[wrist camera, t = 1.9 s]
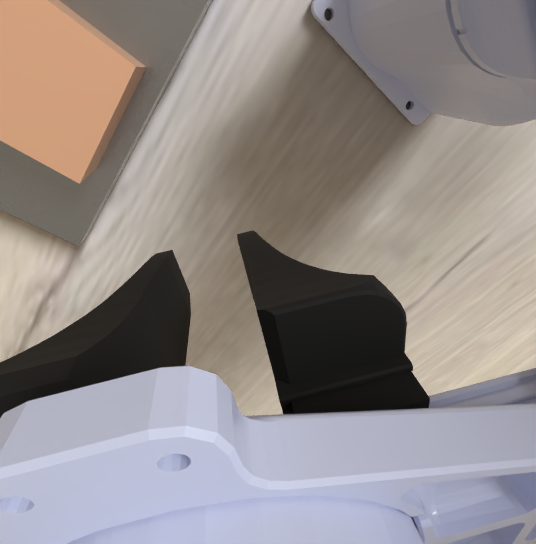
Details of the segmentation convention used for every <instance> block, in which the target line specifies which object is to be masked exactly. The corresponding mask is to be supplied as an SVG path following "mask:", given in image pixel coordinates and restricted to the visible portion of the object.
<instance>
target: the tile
mask: <svg viewBox="0 0 536 544" xmlns="http://www.w3.org/2000/svg"><path fill="white" fill-rule="evenodd" d="M145 69H146V66H144V65H143V64H142V63H140V62H139V61H138V60H137V59H135V58H134V57H133V56H131V55H130V54H129V53H127V52H126V51H125V50H123V49H122V48H121V47H120V46H118V45H117V44H116V43H114V42H113V41H112V40H110V39H109V38H108V37H106V36H105V35H104V34H103V33H101V32H100V31H99V30H97V29H96V28H95V27H93V26H92V25H91V24H89V23H88V22H87V21H86V20H84V19H83V18H82V17H80V16H79V15H78V14H76V13H75V12H74V11H72V10H71V9H70V8H69V7H67V6H66V5H65V4H63V3H62V2H61V1H59V0H0V141H2V142H4V143H6V144H8V145H10V146H11V147H13V148H15V149H17V150H19V151H21V152H22V153H24V154H26V155H28V156H30V157H31V158H33V159H35V160H37V161H39V162H41V163H42V164H44V165H46V166H48V167H50V168H52V169H53V170H55V171H57V172H59V173H61V174H63V175H64V176H66V177H68V178H70V179H72V180H73V181H75V182H77V183H79V184H80V183H81V182H82V181H84V180H85V179H86V178H87V177H88V176H89V175H91V174H92V173H93V172H94V171H95V170H96V168H97V166H98V164H99V162H100V160H101V158H102V156H103V154H104V152H105V150H106V148H107V146H108V144H109V142H110V140H111V138H112V136H113V134H114V132H115V130H116V128H117V126H118V124H119V122H120V120H121V118H122V116H123V114H124V112H125V109H126V107H127V105H128V103H129V101H130V99H131V97H132V95H133V93H134V91H135V89H136V87H137V85H138V83H139V81H140V79H141V77H142V75H143V73H144V71H145Z"/></svg>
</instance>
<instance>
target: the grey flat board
mask: <svg viewBox="0 0 536 544" xmlns="http://www.w3.org/2000/svg"><path fill="white" fill-rule="evenodd" d="M59 1H61V2H62V3H63V4H65V5H66V6H67V7H69V8H70V9H71V10H72V11H74V12H75V13H76V14H78V15H79V16H80V17H82V18H83V19H84V20H86V21H87V22H88V23H89V24H91V25H92V26H93V27H95V28H96V29H97V30H99V31H100V32H101V33H103V34H104V35H105V36H106V37H108V38H109V39H110V40H112V41H113V42H114V43H116V44H117V45H118V46H120V47H121V48H122V49H123V50H125V51H126V52H127V53H129V54H130V55H131V56H133V57H134V58H135V59H137V60H138V61H139V62H140V63H142V64H143V65H144V66H146V69H145V71H144V73H143V75H142V77H141V79H140V81H139V83H138V85H137V87H136V89H135V91H134V93H133V95H132V97H131V99H130V101H129V103H128V105H127V107H126V109H125V112H124V114H123V116H122V118H121V120H120V122H119V124H118V126H117V128H116V130H115V132H114V134H113V136H112V138H111V140H110V142H109V144H108V146H107V148H106V150H105V152H104V154H103V156H102V158H101V160H100V162H99V164H98V166H97V168H96V170H95V171H94V172H93V173H92V174H91V175H89V176H88V177H87V178H86V179H85V180H84V181H82V182H81V183H80V184H79V183H77V182H75V181H73V180H72V179H70V178H68V177H66V176H64V175H63V174H61V173H59V172H57V171H55V170H53V169H52V168H50V167H48V166H46V165H44V164H42V163H41V162H39V161H37V160H35V159H33V158H31V157H30V156H28V155H26V154H24V153H22V152H21V151H19V150H17V149H15V148H13V147H11V146H10V145H8V144H6V143H4V142H2V141H0V210H2V211H4V212H6V213H8V214H10V215H12V216H15V217H17V218H19V219H21V220H23V221H25V222H27V223H30V224H32V225H34V226H36V227H38V228H40V229H43V230H45V231H47V232H49V233H51V234H53V235H55V236H58V237H60V238H62V239H64V240H66V241H68V242H70V243H73V244H75V245H77V246H80V245H81V243H82V242H83V241H84V239H85V238H86V237H87V235H88V234H89V233H90V231H91V229H92V227H93V225H94V223H95V221H96V219H97V217H98V216H99V214H100V212H101V210H102V208H103V206H104V204H105V202H106V200H107V199H108V197H109V195H110V193H111V191H112V189H113V187H114V185H115V183H116V182H117V180H118V178H119V176H120V174H121V172H122V170H123V168H124V167H125V165H126V163H127V161H128V159H129V157H130V155H131V153H132V151H133V150H134V148H135V146H136V144H137V142H138V140H139V138H140V136H141V134H142V133H143V131H144V129H145V127H146V125H147V123H148V121H149V119H150V117H151V116H152V114H153V112H154V110H155V108H156V106H157V104H158V102H159V100H160V99H161V97H162V95H163V93H164V91H165V89H166V87H167V85H168V83H169V82H170V80H171V78H172V76H173V74H174V72H175V70H176V68H177V66H178V65H179V63H180V61H181V59H182V57H183V55H184V53H185V51H186V49H187V48H188V46H189V44H190V42H191V40H192V38H193V36H194V34H195V32H196V31H197V29H198V27H199V25H200V23H201V21H202V19H203V17H204V15H205V14H206V12H207V10H208V8H209V6H210V4H211V2H212V0H59Z"/></svg>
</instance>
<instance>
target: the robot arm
mask: <svg viewBox="0 0 536 544" xmlns="http://www.w3.org/2000/svg"><path fill="white" fill-rule="evenodd" d="M326 9H329V10H330V11H331V13H332V17H331V19H330V20H329V21H328V20H326V19H325V17H324V12H325V10H326ZM311 12H312V15H313V16H314V18H315V19H316V20H317V21H318V22H319V23H320V24H321V25H322V26H323V28H324V29H325V30H326V31H327V32H328V33H329V34H330V35H331V36H332V37H333V38H334V40H335V41H336V42H337V43H338V44H339V45H340V46H341V47H342V48H343V49H344V51H345V52H346V53H347V54H348V55H349V56H350V57H351V58H352V59H353V60H354V61H355V63H356V64H357V65H358V66H359V67H360V68H361V69H362V70H363V71H364V72H365V74H366V75H367V76H368V77H369V78H370V79H371V80H372V81H373V82H374V83H375V84H376V86H377V87H378V88H379V89H380V90H381V91H382V92H383V93H384V94H385V95H386V96H387V98H388V99H389V100H390V101H391V102H392V103H393V104H394V105H395V106H396V107H397V109H398V110H399V111H400V112H401V113H402V114H403V115H404V116H405V117H406V118H407V119H408V121H409V122H410V123H412V124H414V125H419V124H421V123H422V122H424V120H425V119H426V118H427V117H428V116H429V115H430V114H431V113H434V114H439V115H444V116H449V117H454V118H459V119H464V120H469V121H474V122H479V123H483V124H488V125H493V126H509V125H515V124H520V123H524V122H527V121H531V120H534V119H536V0H313V2H312V4H311ZM409 101H410V103H411V105H410V107H409V108H408V109H406V104H407V102H409ZM237 237H238V243H239V246H240V250H241V254H242V258H243V261H244V265H245V269H246V273H247V276H248V280H249V284H250V288H251V292H252V295H253V299H254V302H255V305H256V309H257V313H258V317H259V321H260V325H261V328H262V332H263V336H264V340H265V343H266V347H267V351H268V355H269V359H270V362H271V366H272V370H273V374H274V377H275V382H276V387H277V391H278V396H279V400H280V404H281V407H282V410H283V415H260V416H243V415H242V414H241V412H240V411H239V409H238V407H237V405H236V402H235V400H234V397H233V395H232V392H231V390H230V389H229V388H228V387H227V385H226V384H225V383H224V382H223V381H222V380H221V379H220V378H219V377H218V376H217V375H216V374H214V373H211V372H208V371H204V370H201V369H198V368H195V367H192V366H185V363H186V354H187V345H188V336H189V327H190V317H191V308H190V293H189V290H188V288H187V285H186V283H185V280H184V278H183V275H182V273H181V270H180V268H179V265H178V263H177V260H176V258H175V256H174V253H173V251H172V250H170V251H166V252H161V253H157V254H155V255H154V256H152V257H151V258H150V259H149V260H148V261H147V262H146V263H145V264H144V265H143V266H142V267H141V268H140V269H139V270H138V271H137V272H136V273H135V274H134V275H133V276H132V277H131V278H130V279H129V280H128V281H127V282H125V283H124V284H123V285H122V286H121V287H120V288H119V289H118V290H117V291H115V292H114V293H113V294H112V295H111V296H110V297H109V298H108V299H106V300H105V301H104V302H103V303H101V304H100V305H99V306H97V307H96V308H95V309H93V310H92V311H91V312H89V313H88V314H87V315H85V316H84V317H82V318H81V319H79V320H78V321H76V322H74V323H73V324H71V325H70V326H68V327H66V328H65V329H63V330H62V331H60V332H59V333H57V334H55V335H54V336H52V337H50V338H48V339H46V340H45V341H43V342H41V343H39V344H37V345H35V346H33V347H31V348H29V349H28V350H26V351H24V352H22V353H20V354H18V355H16V356H13V357H11V358H9V359H7V360H5V361H2V362H0V544H530V543H533V542H536V368H533V369H530V370H526V371H522V372H518V373H515V374H511V375H507V376H503V377H500V378H496V379H492V380H488V381H484V382H481V383H477V384H473V385H469V386H466V387H462V388H458V389H454V390H450V391H447V392H443V393H439V394H435V395H432V396H428V395H427V394H426V392H425V391H424V389H423V388H422V386H421V385H420V383H419V382H418V380H417V379H416V378H415V376H414V375H413V373H412V372H411V371H413V366H412V363H411V361H410V360H409V359H408V357H407V356H406V354H405V353H404V351H405V338H406V326H407V322H406V313H405V311H404V309H403V307H402V305H401V303H400V302H399V301H398V300H397V299H396V297H395V296H394V295H393V294H392V293H391V292H390V291H389V290H388V289H387V288H386V286H384V285H383V284H382V283H381V282H380V281H379V280H378V279H377V278H376V277H375V276H374V275H359V274H346V273H339V272H333V271H328V270H323V269H319V268H316V267H312V266H309V265H306V264H303V263H301V262H299V261H296V260H294V259H292V258H290V257H288V256H286V255H284V254H282V253H281V252H279V251H278V250H276V249H275V248H274V247H272V246H271V245H270V244H268V243H267V242H266V241H265V240H263V239H262V238H261V237H260V236H259V235H258V234H257V233H256V232H255V231H249V232H245V233H241V234H237Z"/></svg>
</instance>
